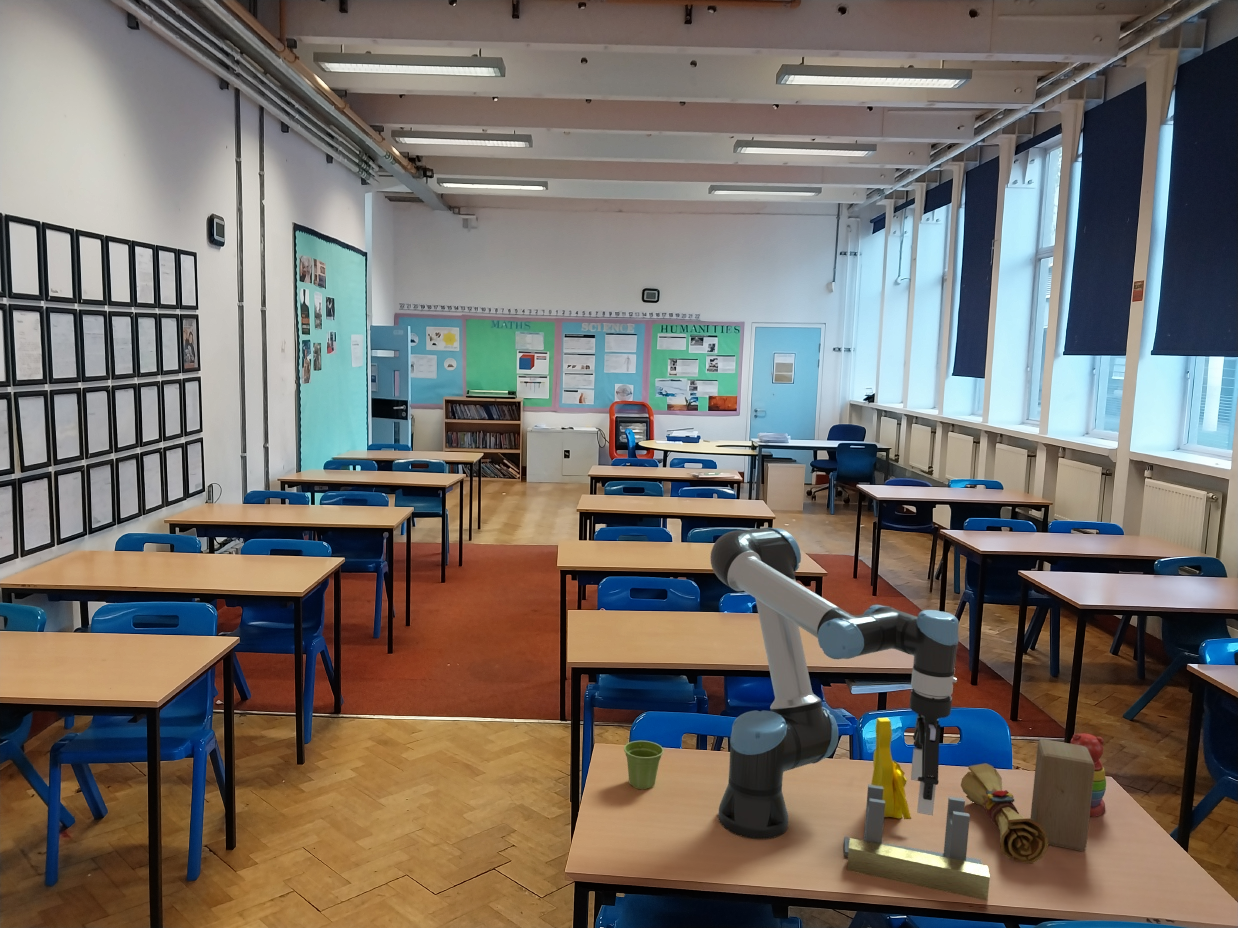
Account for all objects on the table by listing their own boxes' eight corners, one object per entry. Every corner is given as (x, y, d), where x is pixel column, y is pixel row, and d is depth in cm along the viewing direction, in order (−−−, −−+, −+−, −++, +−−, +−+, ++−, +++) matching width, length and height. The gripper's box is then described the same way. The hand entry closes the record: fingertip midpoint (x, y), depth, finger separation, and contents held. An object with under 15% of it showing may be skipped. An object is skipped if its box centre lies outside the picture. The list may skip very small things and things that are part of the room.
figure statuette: (917, 833, 185) (926, 736, 183) (882, 832, 185) (890, 735, 183) (889, 793, 203) (896, 704, 201) (857, 792, 203) (863, 703, 200)
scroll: (1047, 868, 174) (1052, 822, 173) (999, 864, 175) (1004, 818, 174) (998, 802, 201) (1002, 762, 200) (957, 799, 202) (961, 759, 201)
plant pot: (624, 772, 208) (626, 738, 207) (663, 776, 206) (665, 742, 205) (619, 790, 198) (621, 755, 197) (659, 795, 197) (661, 759, 196)
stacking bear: (1102, 801, 203) (1110, 730, 202) (1109, 821, 194) (1118, 747, 192) (1052, 792, 207) (1059, 721, 205) (1057, 811, 198) (1064, 737, 196)
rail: (846, 871, 170) (848, 847, 170) (848, 860, 174) (849, 837, 173) (987, 901, 162) (989, 876, 161) (985, 890, 166) (987, 865, 165)
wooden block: (1034, 843, 183) (1043, 754, 181) (1029, 821, 193) (1037, 736, 191) (1086, 853, 180) (1096, 763, 178) (1078, 830, 189) (1087, 744, 187)
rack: (844, 857, 174) (849, 797, 173) (844, 839, 181) (848, 781, 180) (985, 882, 168) (991, 819, 167) (979, 861, 175) (985, 801, 174)
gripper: (961, 719, 151) (950, 832, 153) (943, 672, 175) (934, 770, 177) (917, 713, 153) (906, 824, 155) (905, 667, 177) (896, 764, 179)
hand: (921, 796), depth 166 cm, fingers open, 13 cm apart
